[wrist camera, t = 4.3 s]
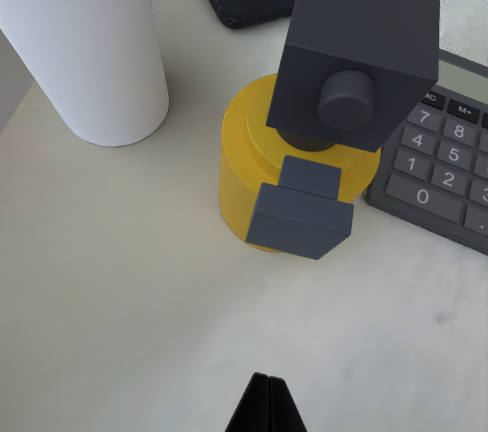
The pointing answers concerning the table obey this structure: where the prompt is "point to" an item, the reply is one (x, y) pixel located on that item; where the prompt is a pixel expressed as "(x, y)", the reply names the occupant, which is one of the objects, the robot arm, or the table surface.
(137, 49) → the cylindrical container
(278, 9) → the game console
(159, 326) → the table surface
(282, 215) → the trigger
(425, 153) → the calculator
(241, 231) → the spray bottle
